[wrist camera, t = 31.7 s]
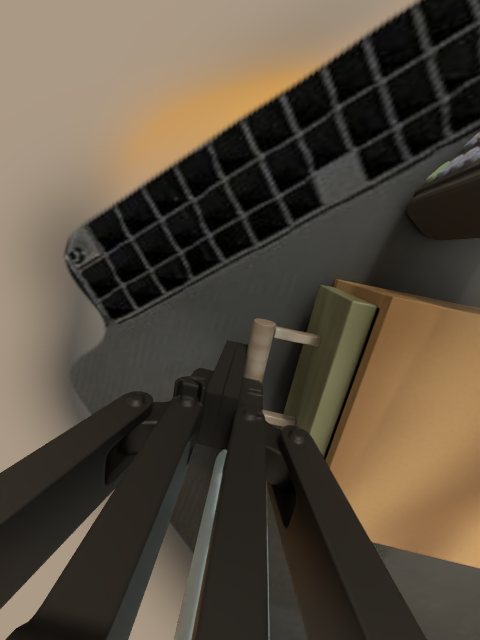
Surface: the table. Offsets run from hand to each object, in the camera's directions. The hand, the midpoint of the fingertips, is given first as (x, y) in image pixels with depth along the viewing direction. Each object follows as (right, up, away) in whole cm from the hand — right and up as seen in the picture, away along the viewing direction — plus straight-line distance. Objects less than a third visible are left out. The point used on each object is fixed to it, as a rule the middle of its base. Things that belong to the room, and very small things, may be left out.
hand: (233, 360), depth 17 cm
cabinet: (+13, -2, +3) cm, 14 cm away
